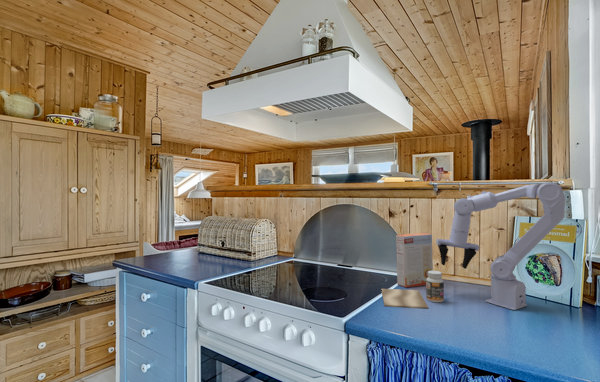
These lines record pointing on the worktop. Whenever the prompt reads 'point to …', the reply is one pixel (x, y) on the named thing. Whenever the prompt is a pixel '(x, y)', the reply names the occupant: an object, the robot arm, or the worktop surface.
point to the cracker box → (413, 258)
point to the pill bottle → (435, 287)
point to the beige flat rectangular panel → (403, 298)
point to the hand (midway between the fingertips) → (453, 266)
